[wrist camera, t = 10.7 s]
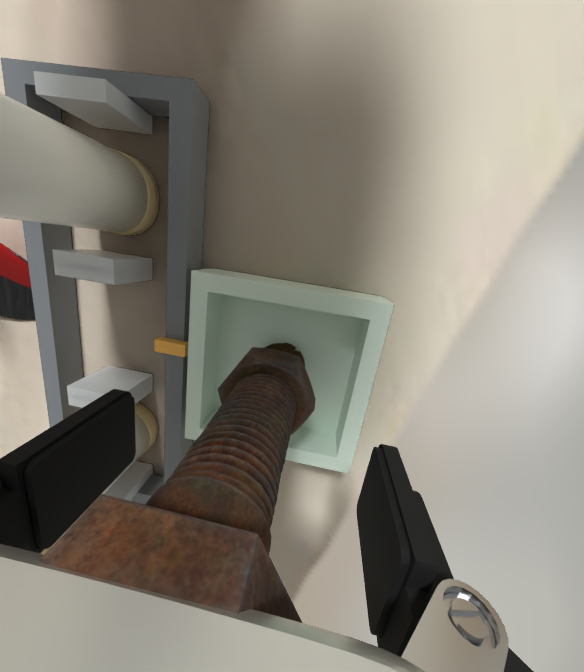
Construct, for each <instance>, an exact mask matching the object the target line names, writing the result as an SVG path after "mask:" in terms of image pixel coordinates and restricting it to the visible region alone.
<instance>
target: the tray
mask: <svg viewBox="0 0 584 672" xmlns="http://www.w3.org/2000/svg"><path fill="white" fill-rule="evenodd" d="M393 307H394V304H393V303H391V302H390V301H389V300H387V299H386V298H385V297H383V296H377V295H371V294H365V293H359V292H353V291H347V290H341V289H335V288H329V287H324V286H318V285H312V284H306V283H300V282H294V281H288V280H282V279H276V278H270V277H264V276H258V275H252V274H246V273H240V272H234V271H228V270H222V269H216V268H209V269H200V270H191V290H190V316H189V341H188V366H187V391H186V417H185V438H187V439H192V440H196V439H197V438H198V437H199V436H200V435H201V433H202V432H203V430H204V429H205V428H206V426H207V424H208V423H209V422H210V420H211V419H212V417H213V416H214V415H215V413H216V412H217V411H218V409H219V408H220V406H221V405H222V404H221V401H220V397H219V393H218V388H219V386H220V385H221V384H222V383H223V381H224V380H225V379H226V378H227V377H228V375H229V374H230V373H231V372H232V371H233V369H234V368H235V367H236V366H237V365H238V363H239V362H240V361H241V360H242V359H243V357H244V356H245V355H246V354H247V353H248V352H249V350H250V349H251V348H252V347H258V348H265V347H266V346H269V345H271V344H275V343H289V344H292V345H293V346H295V347H296V349H295V350H297V351H300V352H301V353H302V355H303V357H304V360H305V369H306V371H307V374H308V376H309V379H310V382H311V385H312V388H313V391H314V395H315V398H316V400H315V410H314V411H313V413H312V414H311V415H310V416H309V418H308V419H307V420H306V421H305V422H304V423H303V425H302V426H301V427H300V428H299V429H298V430H297V431H296V432H294V433H293V434H292V435H291V436H290V440H289V444H288V449H287V452H286V458H285V460H288V461H293V462H297V463H302V464H307V465H311V466H316V467H320V468H325V469H329V470H334V471H339V472H343V473H348V474H349V473H350V469H351V465H352V462H353V458H354V454H355V450H356V447H357V443H358V439H359V435H360V432H361V428H362V424H363V420H364V416H365V413H366V409H367V405H368V401H369V398H370V394H371V390H372V386H373V383H374V379H375V375H376V371H377V368H378V364H379V360H380V356H381V352H382V349H383V345H384V341H385V337H386V334H387V330H388V326H389V322H390V319H391V315H392V311H393ZM295 350H294V351H295Z"/></svg>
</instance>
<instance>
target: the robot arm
mask: <svg viewBox="0 0 584 672" xmlns="http://www.w3.org/2000/svg"><path fill="white" fill-rule="evenodd" d="M135 454H136V437H135V400H134V397H133V396H132V395H131V393H130V392H128V391H123V390H119V389H113V390H111V391H109V392H107V393H106V394H104V395H102V396H101V397H99V398H98V399H96V400H94V401H93V402H91V403H90V404H88V405H86V406H85V407H83V408H81V409H80V410H78V411H77V412H75V413H73V414H72V415H70V416H69V417H67V418H65V419H64V420H62V421H60V422H59V423H57V424H56V425H54V426H52V427H51V428H49V429H48V430H46V431H44V432H43V433H41V434H39V435H38V436H36V437H35V438H33V439H31V440H30V441H28V442H27V443H25V444H23V445H22V446H20V447H18V448H17V449H15V450H14V451H12V452H10V453H9V454H7V455H6V456H4V457H2V458H1V459H0V672H533V671H532V670H531V669H530V668H529V667H528V666H527V665H526V664H525V663H524V662H523V661H522V660H521V659H520V658H519V657H518V656H517V655H516V654H515V653H514V652H513V651H512V650H511V649H510V648H509V647H508V637H507V633H506V630H505V626H504V624H503V623H502V621H501V619H500V617H499V615H498V613H497V612H496V611H495V609H494V608H493V607H492V606H491V604H490V603H489V602H488V601H487V600H486V599H485V598H484V597H483V596H482V595H481V594H480V593H479V592H478V591H476V590H475V589H474V588H472V587H471V586H469V585H468V584H466V583H463V582H461V581H459V580H454V579H453V576H452V574H451V571H450V568H449V566H448V563H447V561H446V558H445V555H444V553H443V550H442V548H441V545H440V543H439V540H438V537H437V535H436V532H435V530H434V527H433V525H432V522H431V520H430V517H429V514H428V512H427V509H426V507H425V504H424V501H423V499H422V497H421V495H420V494H419V493H418V492H416V491H413V490H412V487H411V485H410V482H409V479H408V476H407V473H406V471H405V468H404V465H403V462H402V460H401V457H400V454H399V451H398V449H397V448H396V447H393V446H388V445H383V444H380V445H379V447H378V448H377V447H374V448H373V451H372V455H371V458H370V461H369V465H368V468H367V472H366V475H365V479H364V482H363V486H362V489H361V493H360V496H359V500H358V504H357V519H358V529H359V537H360V546H361V555H362V564H363V573H364V581H365V591H366V600H367V608H368V618H369V626H370V631H371V633H372V634H373V635H377V642H378V647H376V646H374V645H371V644H368V643H365V642H362V641H360V640H357V639H354V638H351V637H348V636H344V635H341V634H337V633H334V632H331V631H327V630H324V629H320V628H317V627H313V626H310V625H307V624H303V623H300V622H297V621H293V620H290V619H286V618H282V617H279V616H275V615H271V614H267V613H264V612H260V611H256V610H253V609H250V610H247V611H243V612H240V613H234V612H230V611H226V610H222V609H218V608H214V607H210V606H206V605H202V604H198V603H194V602H191V601H187V600H183V599H179V598H175V597H171V596H167V595H164V594H160V593H156V592H152V591H148V590H144V589H140V588H137V587H133V586H129V585H125V584H121V583H117V582H113V581H109V580H105V579H102V578H98V577H94V576H90V575H86V574H82V573H78V572H74V571H70V570H67V569H63V568H59V567H55V566H51V565H47V564H45V563H42V562H40V561H39V560H40V559H41V558H42V557H43V556H44V555H43V554H40V553H41V552H42V551H43V550H44V549H47V548H49V547H51V546H52V545H53V544H54V543H55V542H56V541H57V540H58V539H59V538H60V537H61V536H62V535H63V534H64V533H65V532H66V531H67V530H68V529H69V528H70V527H71V526H72V525H73V523H74V522H75V521H76V520H77V519H78V518H79V517H80V516H81V515H82V514H83V513H84V512H85V511H86V510H87V509H88V508H89V507H90V506H91V505H92V504H93V502H94V501H95V500H96V499H97V498H98V497H99V496H100V495H101V494H102V493H103V492H104V491H105V490H106V489H107V488H108V487H109V486H110V485H111V484H112V482H113V481H114V480H115V479H116V478H117V477H118V476H119V475H120V474H121V473H122V472H123V471H124V470H125V469H126V468H127V467H128V466H129V465H130V464H131V462H132V461H133V459H134V457H135Z"/></svg>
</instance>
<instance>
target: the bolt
mask: <svg viewBox="0 0 584 672" xmlns="http://www.w3.org/2000/svg"><path fill="white" fill-rule="evenodd" d="M295 349H296V347H295V346H293V345H292V344H289V343H275V344H271V345H269V346H266V347H265V348H258V347H252V348H251V349H250V350H249V352H248V353H247V354H246V355H245V356H244V357H243V359H242V360H241V361H240V362H239V363H238V365H237V366H236V367H235V368H234V369H233V371H232V372H231V373H230V374H229V375H228V377H227V378H226V379H225V380H224V381H223V383H222V384H221V385H220V386H219V388H218V393H219V397H220V401H221V404H222V405H221V406H220V408H219V409H218V411H217V412H216V413H215V415H214V416H213V417H212V419H211V420H210V422H209V423H208V424H207V426H206V428H205V429H204V430H203V432H202V433H201V435H200V436H199V437H198V438H197V439H196V441H195V443H194V444H193V445H192V446H191V448H190V450H189V451H188V452H187V454H186V455H185V457H184V458H183V459H182V461H181V462H180V463H179V464H178V467H177V468H176V469H175V470H174V472H173V474H172V475H171V476H170V477H169V478H168V479H167V481H166V482H165V484H163V485H162V486H160V487H159V488H158V489H157V490H156V491H155V492H154V493H153V495H152V496H151V497H150V499H149V500H148V501H147V503H146V504H145V505H144V504H140V503H136V502H132V501H128V500H124V499H120V498H116V497H112V496H108V495H104V494H101V495H100V496H99V497H98V498H97V500H96V501H95V502H94V503H93V504H92V505H91V506H90V507H89V508H88V509H87V510H86V511H85V512H84V513H83V514H82V515H81V517H80V518H79V519H78V520H77V521H76V522H75V523H74V524H73V525H72V526H71V527H70V528H69V529H68V530H67V531H66V532H65V533H64V535H63V536H62V537H61V538H60V539H59V540H58V541H57V542H56V543H55V544H54V545H53V546H52V547H51V548H50V549H49V550H48V551H47V553H46V554H45V555H44V556H43V557H42V558H41V559H40V560H39V561H40V562H42V563H45V564H47V565H51V566H55V567H59V568H63V569H67V570H70V571H74V572H78V573H82V574H86V575H90V576H94V577H98V578H102V579H105V580H109V581H113V582H117V583H121V584H125V585H129V586H133V587H137V588H140V589H144V590H148V591H152V592H156V593H160V594H164V595H167V596H171V597H175V598H179V599H183V600H187V601H191V602H194V603H198V604H202V605H206V606H210V607H214V608H218V609H222V610H226V611H230V612H234V613H240V612H243V611H247V610H250V609H253V610H256V611H260V612H264V613H267V614H271V615H275V616H279V617H282V618H286V619H290V620H293V621H297V622H300V623H302V621H301V619H300V617H299V615H298V613H297V611H296V609H295V607H294V605H293V603H292V601H291V599H290V597H289V595H288V593H287V591H286V589H285V587H284V585H283V583H282V581H281V579H280V577H279V575H278V573H277V571H276V569H275V567H274V565H273V563H272V561H271V559H270V557H269V551H270V546H271V533H270V527H271V524H272V519H273V515H274V508H275V505H276V501H277V494H278V489H279V482H280V476H281V472H282V468H283V465H284V462H285V458H286V452H287V449H288V444H289V440H290V436H291V435H292V434H293V433H294V432H296V431H297V430H298V429H299V428H300V427H301V426H302V425H303V423H304V422H305V421H306V420H307V419H308V418H309V416H310V415H311V414H312V413H313V411H314V410H315V400H316V398H315V395H314V391H313V388H312V385H311V382H310V379H309V376H308V374H307V371H306V369H305V360H304V357H303V355H302V353H301V352H300V351H297V350H295ZM294 350H295V351H294Z"/></svg>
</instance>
